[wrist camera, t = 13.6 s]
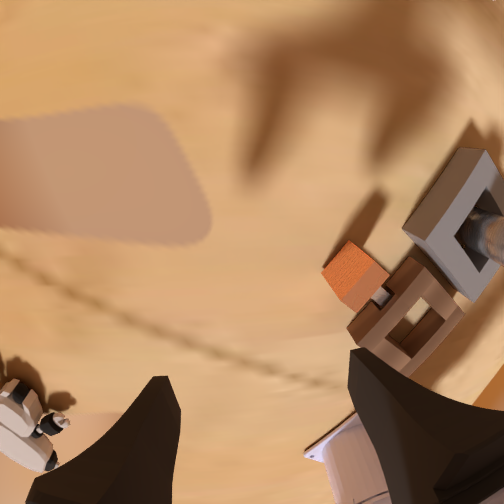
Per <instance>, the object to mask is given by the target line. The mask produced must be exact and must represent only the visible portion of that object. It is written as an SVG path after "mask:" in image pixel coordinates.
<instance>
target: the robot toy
mask: <svg viewBox="0 0 504 504" xmlns="http://www.w3.org/2000/svg"><path fill="white" fill-rule="evenodd" d="M19 381H20V380H18V379H15V378H14V379H13V380H12V381H10V382H6V383H5V385H4V386H3V387H2V388H1V390H0V451H1V452H2V453H4V454H5V455H6V456H7V457H9V458H10V459H12V460H14V461H15V462H17V463H19V464H20V465H22V466H24V467H26V468H28V469H30V470H32V471H36V472H41V473H42V472H43V471H50V470H52V469H54V468H55V469H56V468H58V466H59V462H57V460H58V458H57V455H56V452H55V451H54V450H53V444H52V443H51V442H50V441H49V439H48V438H47V437H46V436H45V435H44V434H43V432H44V433H46V434H48V435H50V436H52V435H55V434H58V433H60V432H61V431H62V430H63V428H67V427H68V426H69V425H70V421H69V419H64V417H65V416H64V415H63V414H62V413H61V412H59V413H54V412H53V413H51V414H48V415H46V416H45V417H44V418H42V419H41V422H40V425H39V424H37V423H38V421H39V419H40V418H41V416H42V414H43V411H42V407H41V405H40V403H41V402H39V400H38V395H37V394H36V393H35V392H34V391H33V390H32V389H31V391H30V392H29V389H28V387H27V386H26V385H25V384H23V383H19Z"/></svg>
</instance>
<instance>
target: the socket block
mask: <svg viewBox="0 0 504 504" xmlns="http://www.w3.org/2000/svg"><path fill="white" fill-rule="evenodd" d="M386 285H387V286H388V287H389V288H390V289H391V290H392V291H393V292H394V293H395V295H394V296H393V297H392V299H391V300H390V301H389V302H388V303H387V304H386V305H385V307H384V308H383V309H382V310H381V309H380V308H379V307H378V306H376V305H375V304H374V303H373V302H372V301H371V302H370V303H369V304H368V305H367V307H366V308H365V309H364V310H363V311H362V312H361V313H360V314H359V315H358V316H357V318H356V319H355V320H354V321H353V322H352V323H351V324H350V325H349V326H348V327H347V330H348V331H349V333H350V335H351V336H352V338H353V339H354V341H355V343H356V344H357V345H358V346H359V347H361V348H362V347H365V348H367V349H368V350H369V351H371V352H372V353H373V354H375V355H376V356H377V357H379V358H380V359H381V360H383V361H384V362H385V363H387V364H388V365H390V366H391V367H392V368H394V369H395V370H397V371H398V372H400V373H401V374H403V375H404V376H406V377H407V378H408V377H409V376H410V375H411V374H412V373H413V372H414V371H415V370H416V369H417V368H418V367H419V366H420V365H421V364H422V363H423V362H424V361H425V360H426V359H427V358H428V357H429V356H430V355H431V354H432V352H433V351H434V350H435V349H436V348H437V347H438V346H439V345H440V344H441V342H442V341H443V340H444V339H445V338H446V337H447V336H448V334H449V333H450V332H451V331H452V330H453V329H454V327H455V326H456V325H457V324H458V322H459V321H460V320H461V319H462V318H463V316H464V315H465V314H464V312H463V311H462V310H461V309H460V307H459V306H458V305H457V304H456V302H455V301H454V300H453V299H452V298H451V296H450V295H449V294H448V293H447V292H446V290H445V289H444V288H443V287H442V286H441V285H440V283H439V282H438V281H437V280H436V279H435V278H434V277H433V275H432V274H431V273H430V272H429V271H428V270H427V269H426V268H425V267H424V266H423V265H421V264H420V263H419V262H417V261H416V260H414V259H413V258H411V257H410V256H409V257H408V258H407V259H406V260H405V262H404V263H403V264H402V265H401V267H400V268H399V269H398V270H397V271H396V273H395V274H394V275H393V276H392V278H391V279H390V280H389V281H388V282H387V284H386ZM420 297H422V298H423V299H424V300H425V301H426V302H427V303H428V304H429V305H430V306H431V307H432V308H431V309H430V311H429V312H428V313H427V314H426V315H425V317H424V318H423V319H422V320H421V321H420V322H419V323H418V325H417V326H416V327H415V328H414V329H413V330H412V331H411V332H410V334H409V335H408V336H407V337H406V338H405V339H404V340H403V341H402V342H401V343H400V344H399V343H398V342H397V341H395V340H394V339H393V338H392V337H390V336H389V335H388V333H389V332H390V331H391V330H392V329H393V328H394V327H395V326H396V325H397V324H398V322H399V321H400V320H401V319H402V318H403V317H404V316H405V315H406V313H407V312H408V311H409V310H410V309H411V308H412V306H413V305H414V304H415V303H416V302H417V300H418V299H419V298H420Z"/></svg>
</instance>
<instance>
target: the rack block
mask: <svg viewBox="0 0 504 504" xmlns="http://www.w3.org/2000/svg"><path fill="white" fill-rule="evenodd" d="M475 203H476V204H477V205H478V207H479V208H480V209H483V210H486V211H489V212H492V213H494V214H497V215H500V216H503V217H504V180H503V178H502V176H501V175H500V173H499V171H498V169H497V168H496V166H495V164H494V162H493V161H492V159H491V157H490V156H489V154H488V153H487V151H486V149H475V148H463V147H459V148H458V150H457V151H456V153H455V154H454V156H453V158H452V159H451V161H450V162H449V164H448V165H447V167H446V168H445V170H444V171H443V172H442V174H441V175H440V177H439V178H438V180H437V181H436V183H435V184H434V185H433V187H432V188H431V190H430V191H429V193H428V194H427V195H426V197H425V198H424V200H423V201H422V202H421V204H420V205H419V206H418V208H417V209H416V210H415V212H414V213H413V214H412V216H411V217H410V218H409V220H408V221H407V222H406V224H405V225H404V226H403V228H402V229H403V231H404V232H405V233H406V234H407V235H408V236H409V237H410V238H411V239H412V240H413V241H414V242H415V244H416V245H417V246H418V247H419V248H420V249H421V250H422V251H423V253H424V254H425V255H426V256H427V257H428V258H429V259H430V261H431V262H432V263H433V264H434V265H435V266H436V268H437V269H438V270H439V271H440V272H441V274H442V275H443V276H444V277H445V278H446V280H447V281H448V282H449V283H450V284H451V286H452V287H453V288H454V289H456V290H457V291H458V292H460V293H461V294H462V295H464V296H465V297H467V298H468V299H469V300H471V301H472V302H473V303H474V302H475V301H476V300H477V298H478V297H479V296H480V294H481V293H482V292H483V290H484V289H485V287H486V286H487V285H488V283H489V282H490V280H491V279H492V277H493V276H494V275H495V273H496V272H497V270H498V269H499V267H500V264H498V263H497V262H495V261H493V260H491V259H489V258H487V257H486V256H484V255H482V254H480V253H478V252H476V251H474V250H472V249H470V248H468V247H467V246H466V247H465V248H464V250H463V249H462V247H461V246H460V244H459V243H458V242H457V240H456V239H455V238H454V235H455V233H456V232H457V231H458V229H459V228H460V226H461V225H462V223H463V222H464V220H465V219H466V217H467V216H468V214H469V213H470V211H471V210H472V208H473V207H474V205H475Z"/></svg>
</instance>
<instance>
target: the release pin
mask: <svg viewBox="0 0 504 504" xmlns="http://www.w3.org/2000/svg"><path fill="white" fill-rule="evenodd" d="M321 274H322V275H323V276H324V278H325V279H326V281H327V282H328V284H329V285H330V286H331V288H332V289H333V291H334V292H335V293H336V295H337V296H338V298H339V299H340V301H342V302H343V303H344V304H346V305H347V306H348V307H349V308H351V309H352V310H353V311H355V312H356V313H358V311H359V310H360V309H361V308H362V307H363V306H364V305H365V304H366V302H367V301H368V300H369V299H370V298H372V299H373V300H374V301H376V302H377V303H378V304H379V305H380V306H381V307H383V308H384V307H385V305H386V304H387V303H388V302H389V301H390V300H391V299H392V297H393V296H391V295H390V294H389V293H388V292H387V291H386V290H385V289H384V288H382V287H381V285H382V284H383V283H384V282H385V280H386V279H387V278H388V277H389V276H390V275H389V274H388V273H387V272H386V271H385V270H384V269H383V268H382V267H381V266H380V265H378V264H377V263H376V262H375V261H374V260H373V259H372V258H370V257H369V256H368V255H367V254H366V253H364V252H363V251H362V250H361V249H359V248H358V247H357V246H356V245H354V244H353V243H352V242H351V241H349V240H348V242H347V243H346V244H345V245H344V246H343V248H342V249H341V250H340V251H339V252H338V254H337V255H336V256H335V257H334V258H333V260H332V261H331V262H330V263H329V264H328V265H327V267H326V268H325V269H324V270H323V271H322V273H321Z"/></svg>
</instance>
